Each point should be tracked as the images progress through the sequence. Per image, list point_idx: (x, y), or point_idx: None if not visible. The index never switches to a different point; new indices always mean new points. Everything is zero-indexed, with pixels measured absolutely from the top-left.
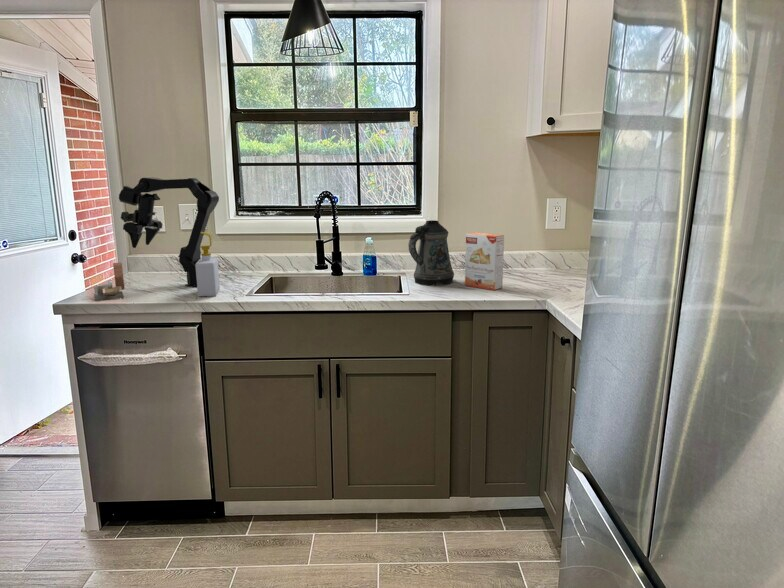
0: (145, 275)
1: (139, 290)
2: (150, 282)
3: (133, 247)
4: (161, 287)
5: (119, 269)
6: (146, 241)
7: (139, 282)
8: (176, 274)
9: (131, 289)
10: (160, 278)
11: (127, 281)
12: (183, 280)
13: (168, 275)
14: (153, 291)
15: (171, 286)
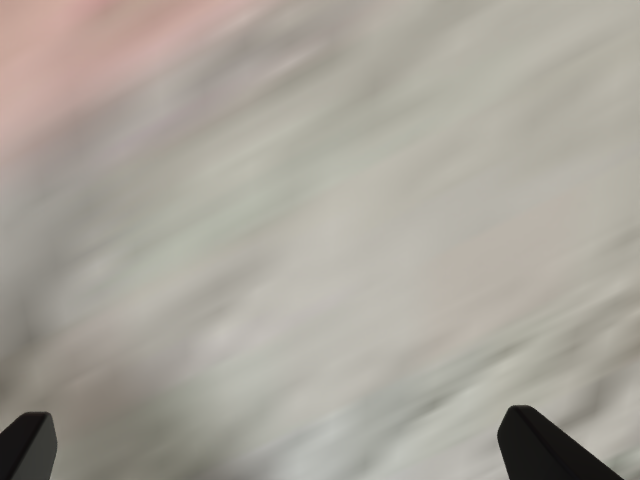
0: (624, 45)
1: (24, 308)
2: (332, 235)
3: (28, 427)
4: (155, 403)
5: None
6: (542, 463)
7: (333, 145)
8: (621, 274)
9: (50, 226)
10: (484, 233)
11: (376, 12)
12: (400, 422)
13: (592, 235)
14: (9, 421)
15: (195, 448)
